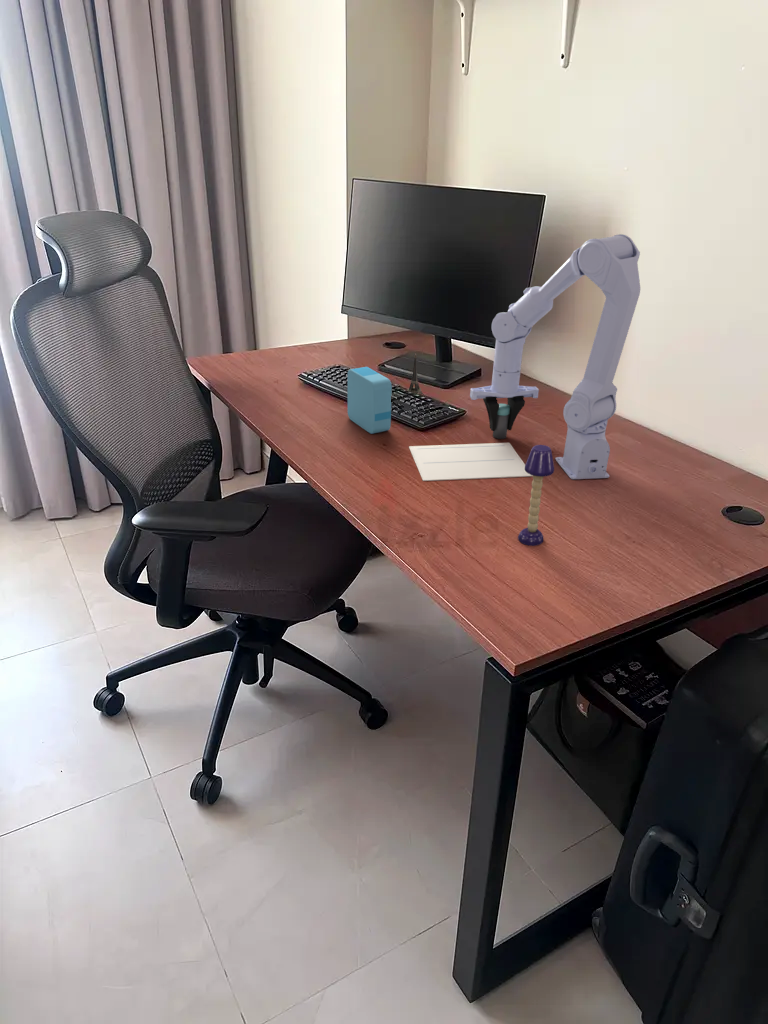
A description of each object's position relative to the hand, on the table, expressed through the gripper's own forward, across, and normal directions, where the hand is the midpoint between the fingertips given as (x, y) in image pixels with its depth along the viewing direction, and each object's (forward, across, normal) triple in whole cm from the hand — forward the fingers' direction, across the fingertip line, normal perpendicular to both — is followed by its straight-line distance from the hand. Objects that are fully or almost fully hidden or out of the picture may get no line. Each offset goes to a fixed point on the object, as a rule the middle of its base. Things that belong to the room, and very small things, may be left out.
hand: (500, 428), depth 161 cm
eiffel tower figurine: (+2, +16, -23) cm, 28 cm away
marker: (+2, 0, 0) cm, 2 cm away
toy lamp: (+2, +7, +43) cm, 44 cm away
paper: (+2, +10, +12) cm, 16 cm away
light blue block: (+2, +28, -9) cm, 29 cm away
